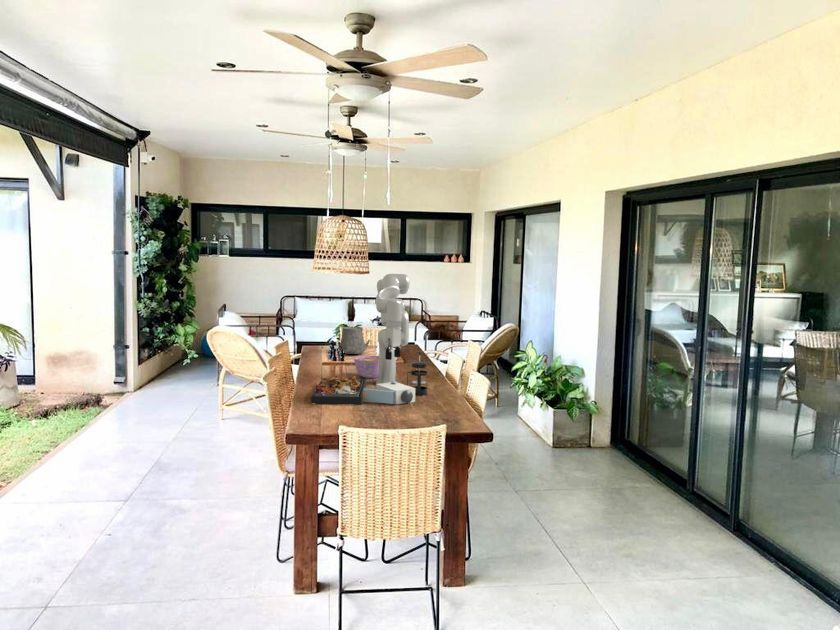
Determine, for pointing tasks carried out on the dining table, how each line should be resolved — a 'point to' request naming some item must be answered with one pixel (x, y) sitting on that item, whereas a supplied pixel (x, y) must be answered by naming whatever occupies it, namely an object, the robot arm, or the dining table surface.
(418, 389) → the french press
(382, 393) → the side door
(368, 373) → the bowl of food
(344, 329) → the vessel
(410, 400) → the grey box with knob
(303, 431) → the dining table surface
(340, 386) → the food platter
